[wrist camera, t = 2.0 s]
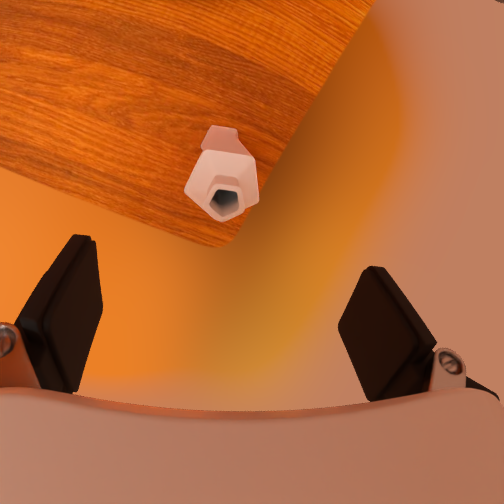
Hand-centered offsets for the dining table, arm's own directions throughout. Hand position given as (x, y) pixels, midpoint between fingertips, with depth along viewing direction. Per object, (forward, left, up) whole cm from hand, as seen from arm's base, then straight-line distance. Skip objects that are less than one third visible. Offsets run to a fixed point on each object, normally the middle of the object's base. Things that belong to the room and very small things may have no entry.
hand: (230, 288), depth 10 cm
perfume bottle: (0, 0, -22) cm, 22 cm away
